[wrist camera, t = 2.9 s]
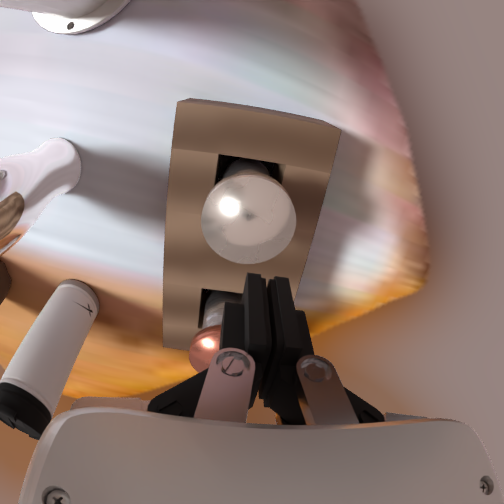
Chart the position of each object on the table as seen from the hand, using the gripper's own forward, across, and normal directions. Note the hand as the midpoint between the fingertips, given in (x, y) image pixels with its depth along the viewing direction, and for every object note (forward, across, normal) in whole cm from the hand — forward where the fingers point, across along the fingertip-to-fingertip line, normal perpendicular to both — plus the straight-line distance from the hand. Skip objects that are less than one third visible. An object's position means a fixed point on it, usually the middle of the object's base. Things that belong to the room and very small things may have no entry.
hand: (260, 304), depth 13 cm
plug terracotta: (+15, +1, +11) cm, 19 cm away
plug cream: (+15, +1, -1) cm, 15 cm away
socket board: (+19, +1, +5) cm, 20 cm away
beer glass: (+19, +20, +1) cm, 28 cm away
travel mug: (+19, +19, +18) cm, 32 cm away
